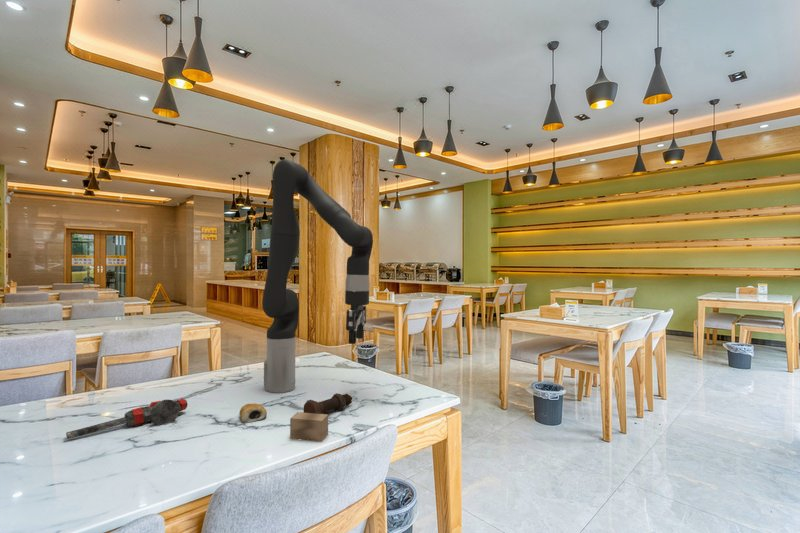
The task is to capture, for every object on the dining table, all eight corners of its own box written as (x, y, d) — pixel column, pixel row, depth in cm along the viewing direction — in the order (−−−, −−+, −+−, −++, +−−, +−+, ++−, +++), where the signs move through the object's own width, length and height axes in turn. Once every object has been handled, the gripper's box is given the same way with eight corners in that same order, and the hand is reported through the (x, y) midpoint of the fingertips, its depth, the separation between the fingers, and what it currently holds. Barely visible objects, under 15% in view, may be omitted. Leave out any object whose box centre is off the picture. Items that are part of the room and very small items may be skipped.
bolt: (350, 412, 117) (310, 426, 105) (340, 400, 119) (300, 413, 108) (358, 396, 115) (318, 409, 103) (347, 385, 118) (307, 396, 106)
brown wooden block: (290, 439, 94) (290, 418, 94) (297, 432, 98) (297, 412, 98) (322, 442, 93) (322, 420, 93) (328, 434, 97) (328, 414, 97)
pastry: (236, 413, 110) (236, 399, 110) (261, 409, 114) (261, 396, 114) (242, 425, 102) (242, 410, 102) (268, 420, 106) (269, 406, 106)
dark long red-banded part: (178, 411, 117) (194, 417, 107) (64, 441, 99) (69, 453, 88) (176, 389, 118) (192, 393, 107) (62, 416, 100) (67, 424, 89)
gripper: (352, 287, 131) (351, 336, 131) (338, 290, 117) (337, 344, 117) (374, 288, 130) (373, 337, 130) (363, 291, 116) (361, 346, 116)
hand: (356, 340), depth 124 cm, fingers open, 8 cm apart
